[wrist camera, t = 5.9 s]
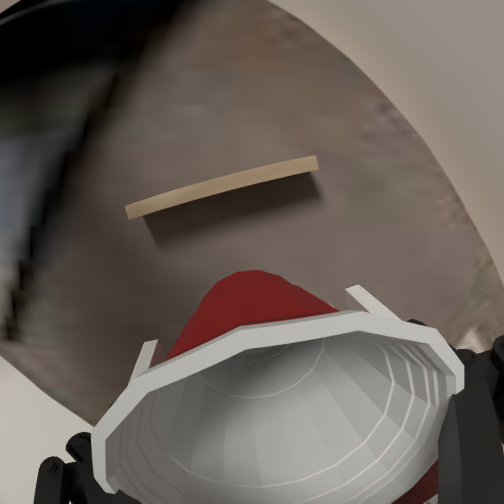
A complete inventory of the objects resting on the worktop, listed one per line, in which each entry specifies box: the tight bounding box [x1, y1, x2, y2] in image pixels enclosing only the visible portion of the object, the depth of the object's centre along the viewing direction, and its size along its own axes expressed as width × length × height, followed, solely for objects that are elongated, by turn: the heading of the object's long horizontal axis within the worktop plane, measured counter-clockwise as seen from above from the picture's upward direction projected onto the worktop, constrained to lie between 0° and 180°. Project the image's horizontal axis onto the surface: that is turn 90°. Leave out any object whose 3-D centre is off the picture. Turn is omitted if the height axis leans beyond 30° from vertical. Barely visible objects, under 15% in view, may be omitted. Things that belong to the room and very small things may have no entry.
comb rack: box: [125, 155, 335, 308], centre depth 28 cm, size 32×16×4 cm, turn 14°
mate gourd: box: [391, 459, 439, 504], centre depth 30 cm, size 16×14×20 cm
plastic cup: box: [91, 270, 464, 504], centre depth 11 cm, size 11×11×12 cm
